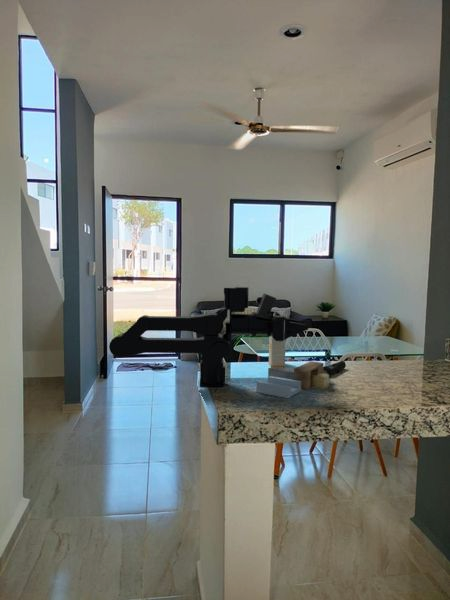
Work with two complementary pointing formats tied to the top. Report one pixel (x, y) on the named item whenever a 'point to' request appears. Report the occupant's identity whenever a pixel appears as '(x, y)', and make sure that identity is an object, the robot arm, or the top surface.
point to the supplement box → (276, 352)
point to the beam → (307, 373)
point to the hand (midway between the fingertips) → (304, 325)
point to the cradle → (279, 387)
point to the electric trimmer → (334, 368)
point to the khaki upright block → (319, 380)
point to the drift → (281, 372)
